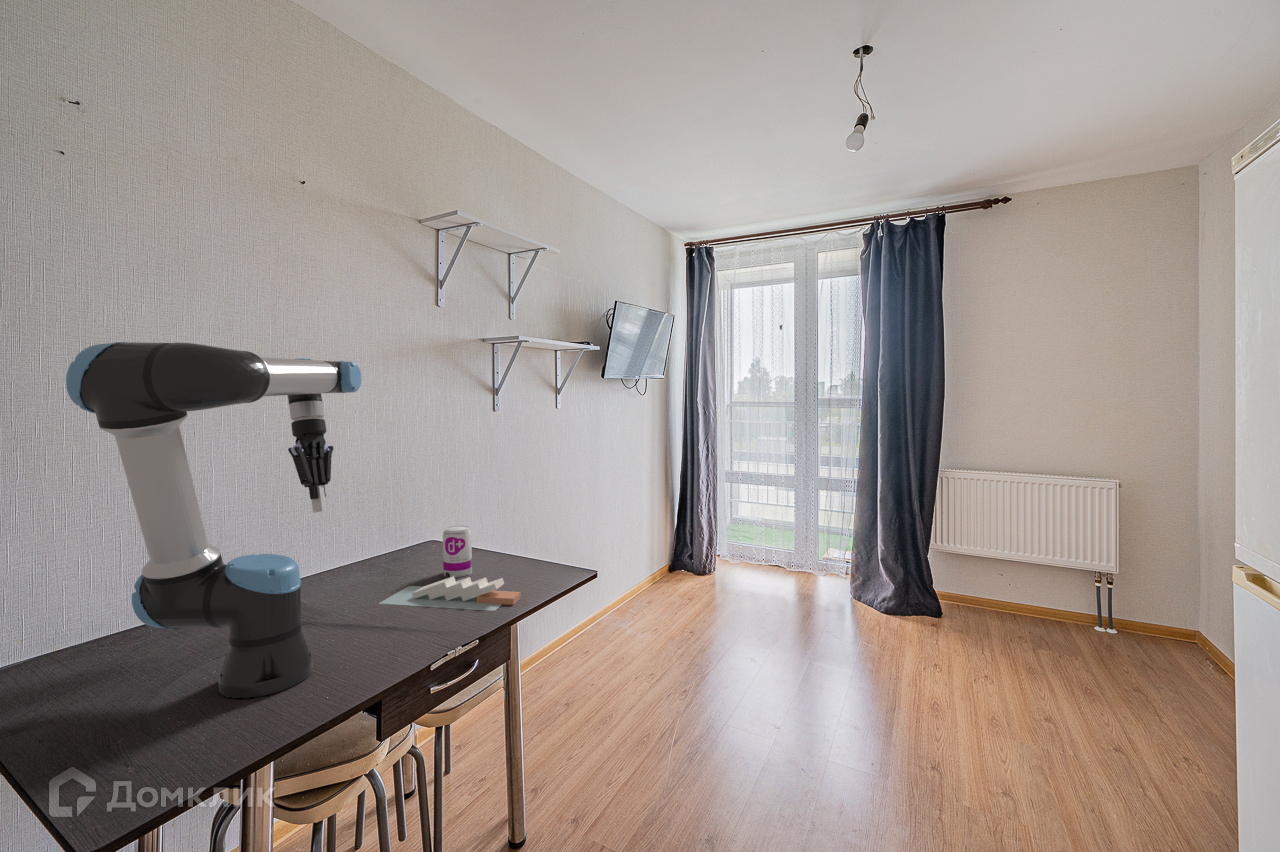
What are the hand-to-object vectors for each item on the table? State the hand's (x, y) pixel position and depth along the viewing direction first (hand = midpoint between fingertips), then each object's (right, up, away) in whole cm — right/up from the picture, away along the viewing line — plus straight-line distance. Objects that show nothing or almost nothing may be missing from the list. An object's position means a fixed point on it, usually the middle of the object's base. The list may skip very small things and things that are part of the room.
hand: (319, 511), depth 142 cm
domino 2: (+26, -23, +8) cm, 36 cm away
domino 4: (+35, -23, +6) cm, 43 cm away
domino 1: (+22, -23, +8) cm, 33 cm away
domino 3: (+31, -23, +7) cm, 39 cm away
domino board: (+30, -25, +7) cm, 40 cm away
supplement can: (+26, -24, +28) cm, 45 cm away
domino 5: (+39, -23, +5) cm, 46 cm away
